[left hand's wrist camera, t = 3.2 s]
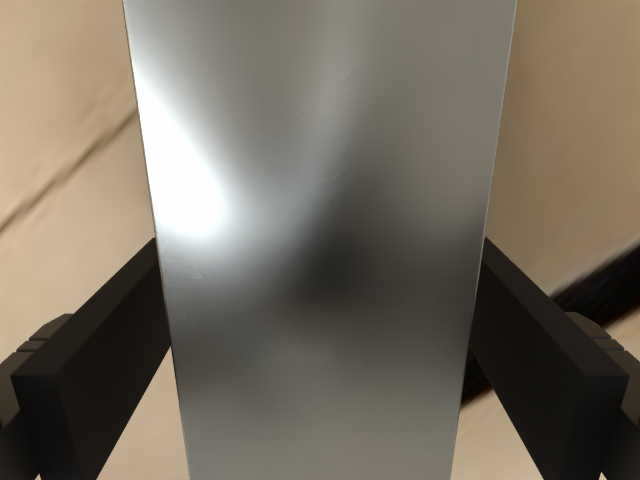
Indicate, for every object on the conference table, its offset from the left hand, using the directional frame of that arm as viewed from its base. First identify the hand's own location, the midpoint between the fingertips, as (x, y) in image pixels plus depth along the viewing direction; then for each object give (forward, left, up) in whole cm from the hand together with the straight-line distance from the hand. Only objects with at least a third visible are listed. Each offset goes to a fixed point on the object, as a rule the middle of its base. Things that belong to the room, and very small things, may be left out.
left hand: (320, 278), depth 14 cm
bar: (+9, 0, -1) cm, 9 cm away
